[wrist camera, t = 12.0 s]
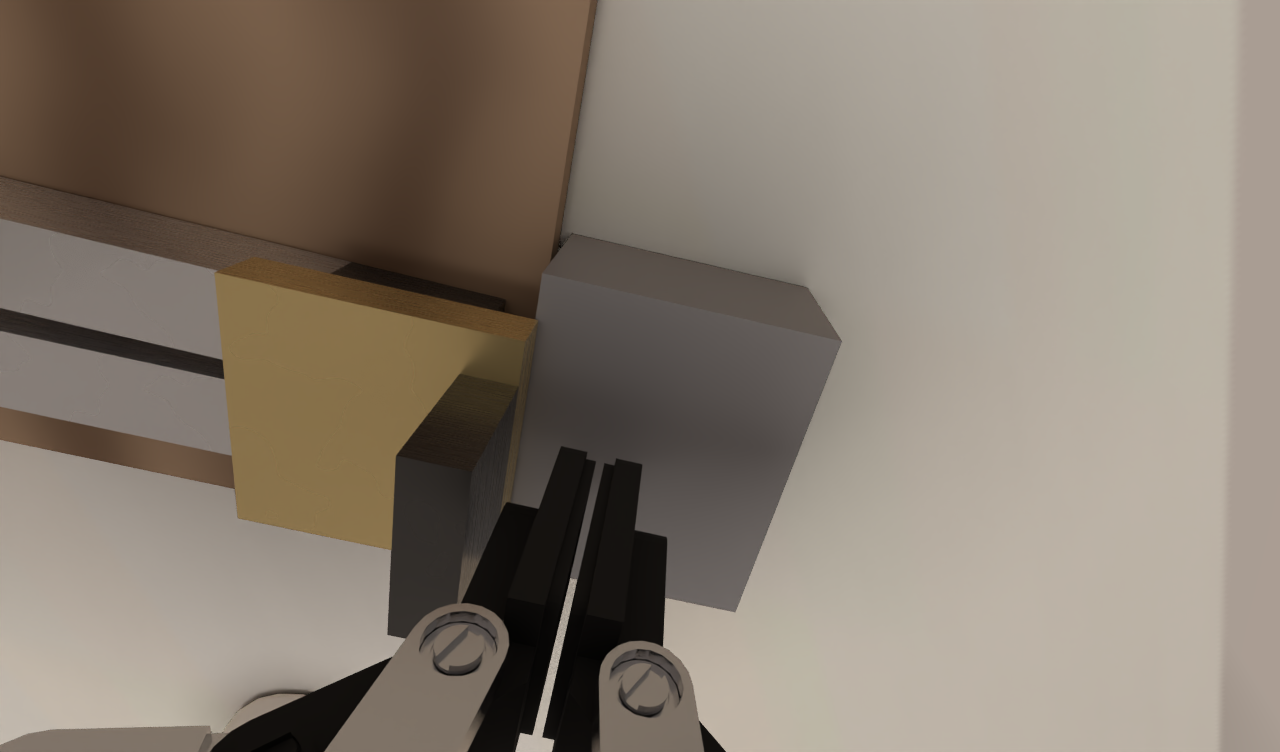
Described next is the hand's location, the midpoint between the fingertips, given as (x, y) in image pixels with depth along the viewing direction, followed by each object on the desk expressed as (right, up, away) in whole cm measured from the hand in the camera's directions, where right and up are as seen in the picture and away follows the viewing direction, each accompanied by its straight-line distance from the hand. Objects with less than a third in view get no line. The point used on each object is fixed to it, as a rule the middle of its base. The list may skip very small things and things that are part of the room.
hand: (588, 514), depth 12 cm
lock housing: (+1, +2, +5) cm, 6 cm away
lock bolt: (-5, +2, +2) cm, 5 cm away
